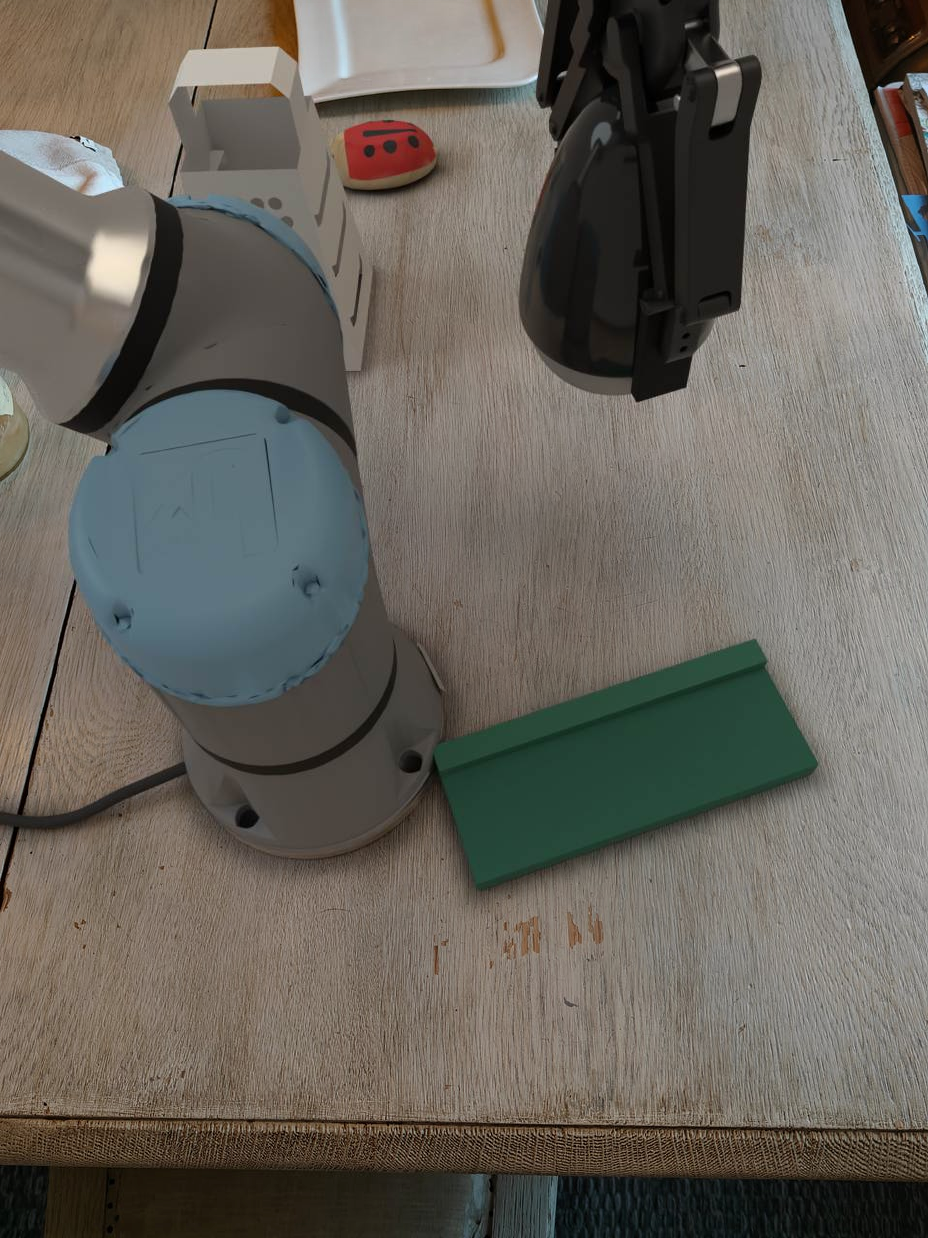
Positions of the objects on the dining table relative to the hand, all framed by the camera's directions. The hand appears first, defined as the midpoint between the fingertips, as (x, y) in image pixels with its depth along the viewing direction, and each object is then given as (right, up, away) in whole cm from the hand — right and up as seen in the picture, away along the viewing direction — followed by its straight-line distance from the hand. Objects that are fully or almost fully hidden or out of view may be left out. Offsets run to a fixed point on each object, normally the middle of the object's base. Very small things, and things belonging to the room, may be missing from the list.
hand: (615, 317), depth 51 cm
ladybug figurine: (-15, +23, +32) cm, 42 cm away
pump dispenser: (0, -1, +3) cm, 3 cm away
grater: (-21, +7, +24) cm, 32 cm away
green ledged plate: (+1, -24, +4) cm, 25 cm away
